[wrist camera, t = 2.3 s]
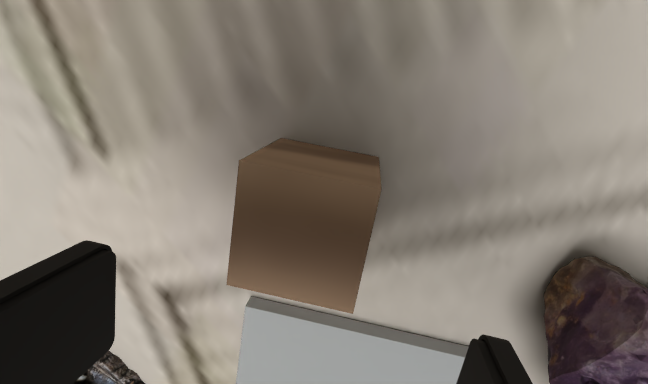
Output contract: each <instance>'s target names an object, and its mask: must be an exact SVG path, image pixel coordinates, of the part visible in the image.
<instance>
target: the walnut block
mask: <svg viewBox="0 0 648 384" xmlns="http://www.w3.org/2000/svg"><path fill="white" fill-rule="evenodd" d="M380 193H381V177H380V165H379V157H376V156H371V155H366V154H361V153H356V152H351V151H345V150H340V149H335V148H330V147H325V146H320V145H314V144H309V143H304V142H299V141H294V140H289V139H283V138H280V139H279V140H277V141H275V142H273V143H271V144H269V145H267V146H266V147H264V148H262V149H260V150H258V151H256V152H254V153H252V154H251V155H249V156H247V157H245V158H243V159H241V160H239V167H238V177H237V187H236V197H235V207H234V217H233V226H232V236H231V246H230V256H229V266H228V276H227V285H230V286H234V287H239V288H243V289H247V290H252V291H256V292H260V293H265V294H269V295H273V296H278V297H282V298H286V299H291V300H295V301H300V302H304V303H308V304H313V305H317V306H321V307H326V308H330V309H334V310H339V311H343V312H347V313H352V314H353V311H354V307H355V302H356V298H357V294H358V289H359V285H360V281H361V276H362V272H363V268H364V263H365V259H366V255H367V250H368V246H369V241H370V237H371V233H372V228H373V224H374V220H375V215H376V211H377V207H378V202H379V198H380Z"/></svg>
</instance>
